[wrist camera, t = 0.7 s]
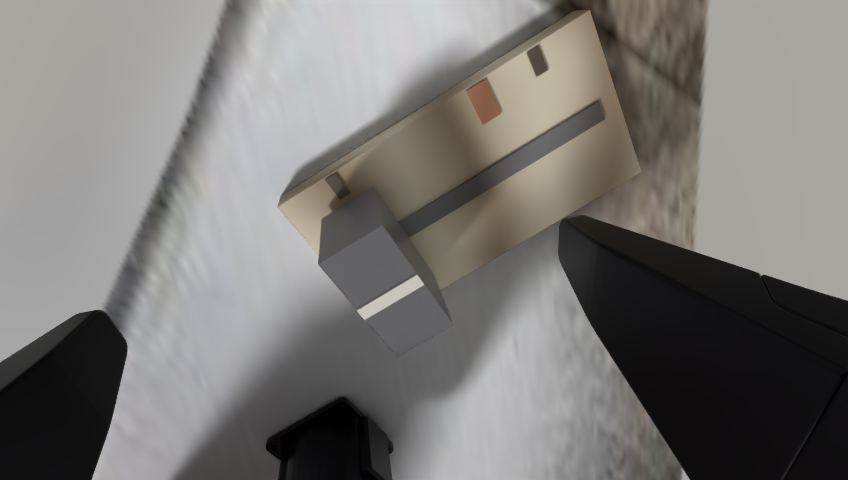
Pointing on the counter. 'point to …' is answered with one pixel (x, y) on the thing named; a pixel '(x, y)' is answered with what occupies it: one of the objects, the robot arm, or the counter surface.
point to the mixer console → (489, 154)
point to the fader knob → (382, 272)
